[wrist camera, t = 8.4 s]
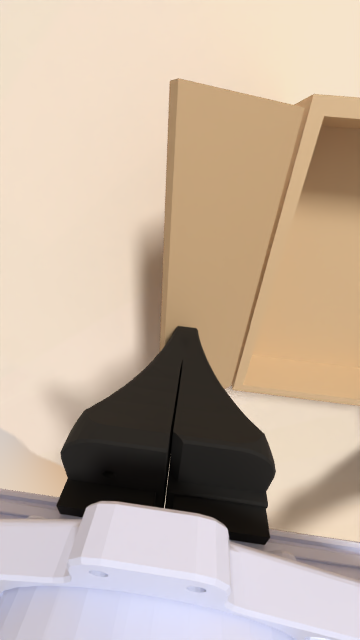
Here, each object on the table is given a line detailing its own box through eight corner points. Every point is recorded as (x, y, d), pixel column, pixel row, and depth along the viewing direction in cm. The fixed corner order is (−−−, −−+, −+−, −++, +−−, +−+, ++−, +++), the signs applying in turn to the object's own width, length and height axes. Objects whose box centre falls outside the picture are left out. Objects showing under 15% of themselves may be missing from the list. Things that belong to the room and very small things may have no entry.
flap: (304, 107, 10) (293, 108, 10) (178, 78, 7) (169, 80, 8) (230, 385, 18) (226, 380, 18) (161, 416, 16) (157, 410, 16)
